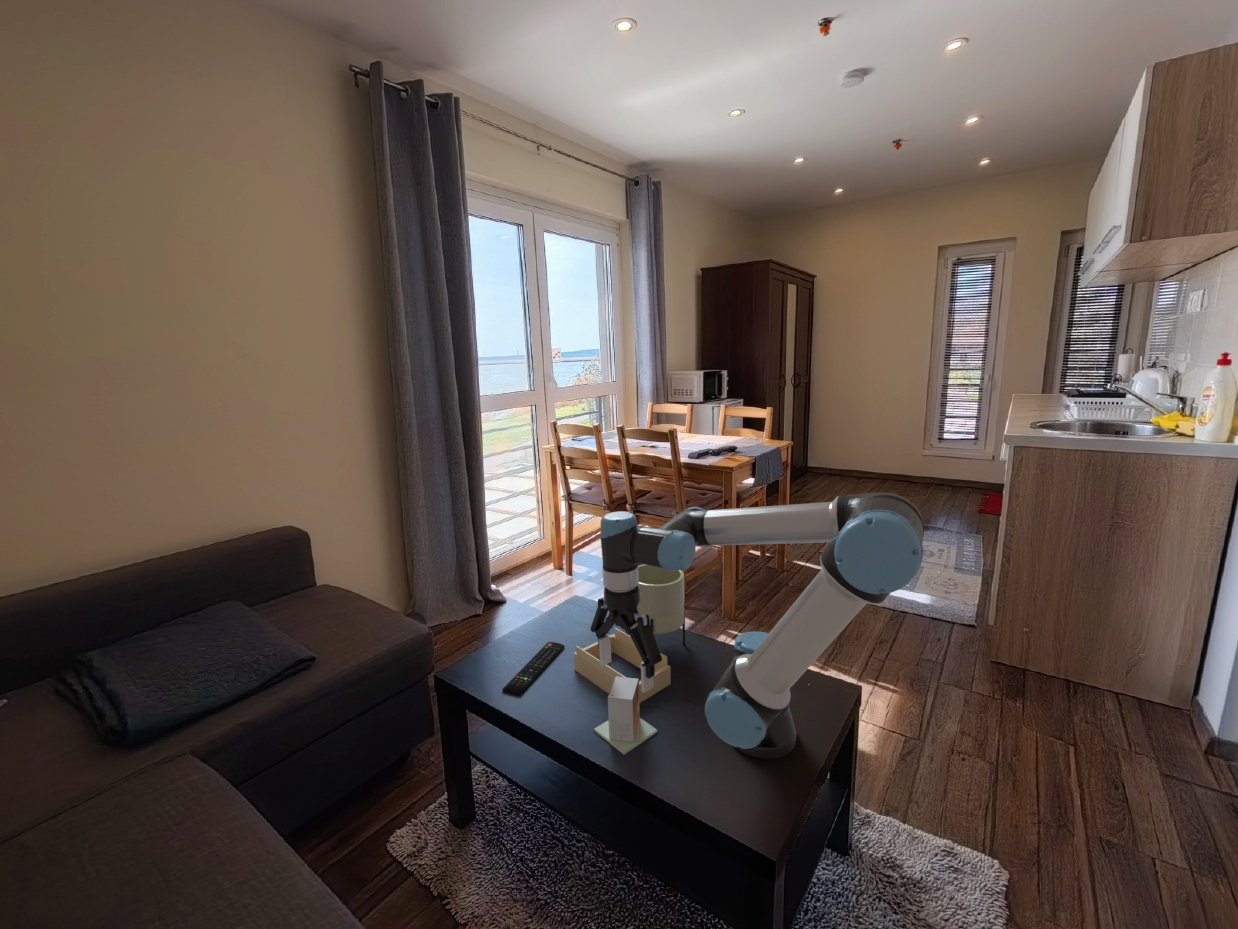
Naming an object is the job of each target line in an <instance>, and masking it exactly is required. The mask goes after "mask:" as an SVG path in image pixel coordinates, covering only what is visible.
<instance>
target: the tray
mask: <svg viewBox="0 0 1238 929" xmlns="http://www.w3.org/2000/svg"><path fill="white" fill-rule="evenodd" d="M613 630H614V633H612V634H610V645H611V655H612V654H615V655H617V656H619V657H620V658H622V659H623V660H625V661H627V662H628V663H630V664H632V665H634V666H635V667H637V668H639V669H640V670H641V663H642V662H643V660H642V658H641V656H640V654H639V652H638V650H637V648H636V646H635V644H634V642H633V640H632V638H631V637H630V635H628V634H627V633H626V632H624V631H623V630H621V629H619V628H617V627H614V629H613ZM660 654H661V657H662V661H660V662H658V663H657V664H655V665H654V667H655V675H654V676H653V684H654V687H653V688H651V689H650V690H648V691H646V692H645V693H644V692H642V683H641V680H639V704H641V703H642V702H645V701H646V700H647V699H649V698H651V697H652V696H653V695H655V694H657V693H658V692H660V691H662V690H663V689H665V688H667V687H668V686H670V685H671V684H672V683H671V682H672V679H671V678H672V677H671V665H669V664H668V656H667V655H666V654H663V653H661V652H660ZM647 658H648V656H647ZM573 659H574V660H573V662H574V663H573V664H574V665H573V666H574V671H575V672H577V673H579V674H580V675H582V676H583V677H584V678H585V679H587V680H589V682H591V683H593V685H596V686H597V687H599V688H600V689H601V690H603V691H604V692H605V693H606V694H608V695H609V693H610V691H611V688H612V686H613V683H614V680H615V677H616V676H617V677H626V676H625V675H623V674H622V673H621V672H619V671H618V670H615V669H614V668H612V667H611V666H610V665H608V664H606V665H604V666H601V665H600V653H599V648H598V641H596V642H594V643H592V644H590V645H588V646H585V647H584V648H581V647H579V645H576V646H575V652H573Z"/></svg>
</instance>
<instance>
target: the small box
mask: <svg viewBox="0 0 1238 929" xmlns="http://www.w3.org/2000/svg"><path fill="white" fill-rule="evenodd" d="M639 681H640V679H639V678H633V677H626V676H625V677H617V676H616V677H615V680H614V683H613V686H612V688H611V691H610V693H609V694H608V695H607V711H608V712H607V714H608V715H607V716H608V719H607V720H609V739H612V740H620V741H628V742H634V739H635V735H636V731H637V727H638V724H639V720H640V718H641V716H640V714H641V713H640V703H639Z"/></svg>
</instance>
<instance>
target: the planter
mask: <svg viewBox="0 0 1238 929" xmlns="http://www.w3.org/2000/svg"><path fill="white" fill-rule="evenodd" d="M638 572H639V584H638V585H639V591H640V601H639V603H638V606H637V610H638V613H639V614H640V615H645V614H648V615H649V620H650V626H651V629H652V632H653V634H654V636H655V635H661V634H668V633H672V632H675V631H677V630H679V629H680V628H681V636H682V638H681V643H682V645H683V646H685V645H686V601H685V573H684V570H670V569H669V570H668V569H665V568H660V567H655V566H650V565H645V564H640V565H638ZM632 627H633V628H635V627H636V626H635V624H634V625H633V626H632Z"/></svg>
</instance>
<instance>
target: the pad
mask: <svg viewBox="0 0 1238 929" xmlns="http://www.w3.org/2000/svg"><path fill="white" fill-rule="evenodd" d="M593 730H594V732H595V733H596V734H597V735H599V736H600V737H601V738H603V740H605V741H606V742H607V743H608V744H610V746H612V747H613V748H615V749H616V750H618V752H620V753H621V754H622V755H624V756H625V755H626V754H627V753H629V752H631V751H632V750H634V749H636V747H638V746H639V745H641V744H642V743H644V742H645V741H646V740H648V739H649V738H651V737H652V736H654V735H655V734H657V733H658V729H656V728H655V727H654V726H652V725H651V724H650V723H649V722H646V721H645V720H644V719H643V718H641V717H640V720H639V724H638V727H637V731H636V735H635V739H634V742H628V741H620V740H612V739H609V719H607V720H606V721H604V722H603V723H601V724H600V725H598V726H596V727H594V729H593Z"/></svg>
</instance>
